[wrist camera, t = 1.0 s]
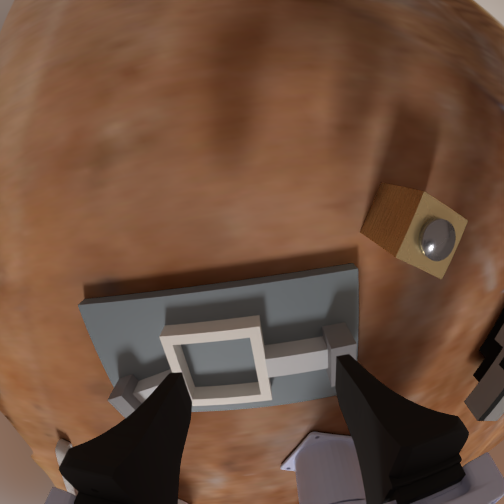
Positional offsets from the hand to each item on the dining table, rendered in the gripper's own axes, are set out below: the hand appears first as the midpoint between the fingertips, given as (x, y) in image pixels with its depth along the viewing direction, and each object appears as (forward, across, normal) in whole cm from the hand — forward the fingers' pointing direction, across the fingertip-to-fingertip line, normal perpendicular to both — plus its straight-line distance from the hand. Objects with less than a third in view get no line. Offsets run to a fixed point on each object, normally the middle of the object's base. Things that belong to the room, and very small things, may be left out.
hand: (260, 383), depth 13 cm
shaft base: (+10, +4, +5) cm, 11 cm away
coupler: (+10, -11, -5) cm, 15 cm away
